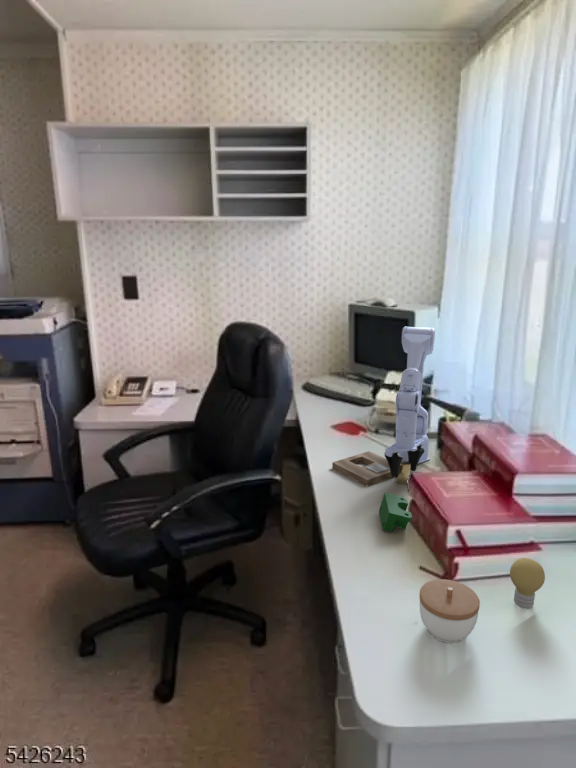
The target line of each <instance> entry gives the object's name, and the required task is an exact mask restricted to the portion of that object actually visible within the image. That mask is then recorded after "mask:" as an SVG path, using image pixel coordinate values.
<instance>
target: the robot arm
mask: <svg viewBox="0 0 576 768" xmlns="http://www.w3.org/2000/svg"><path fill="white" fill-rule="evenodd" d="M435 333H436V330H435V328H434V327H417V326H406V325H405V326H404V327H402V330H401V345H402V349H403V352H404V353H406V354H407V357H406V358H407V362H406V369H404V370H403V371H402V373H401V379H400V385H399V390H398V391H399V392H398V391H397V392H396V395H395V417H396V420H395V442H394V443H392V445H390V446H389V447H387V448H385V450H384V458H386V459H387V461H388V464H389V467H390V471H391V476H393V477H392V478H395V479H396V478H397V477H398V475H399V467H400V464H401V461H408V462H410V463H411V469H410V471H412V472H416V470H417V467H418V465H419V464H422V463H424V462H427V461H429V460H430V459H431V458H430V457H429V447H430V446H429V445H430V440H429V437H428V436H427V434H428V428H429V427H428V425H429V413H428V411H427V410H426V409H425V408H424V407H423V406H422V405H421V402H422V390H423V379H424V368H425V360H426V358H427V356H429V355H431V354H432V353H433V351H434V347H435V346H434V344H435V338H436V335H435ZM421 462H422V463H421Z"/></svg>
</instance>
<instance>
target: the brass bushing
mask: <svg viewBox="0 0 576 768" xmlns="http://www.w3.org/2000/svg"><path fill="white" fill-rule="evenodd" d="M410 469H411V463H410V462H408V461H401V464H400V467H399V475H398V477H397V478H396V477H395V482H396V483H397V484H398V485H408V484H407V480H408V477H409V475H410V476H411V470H410Z"/></svg>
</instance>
